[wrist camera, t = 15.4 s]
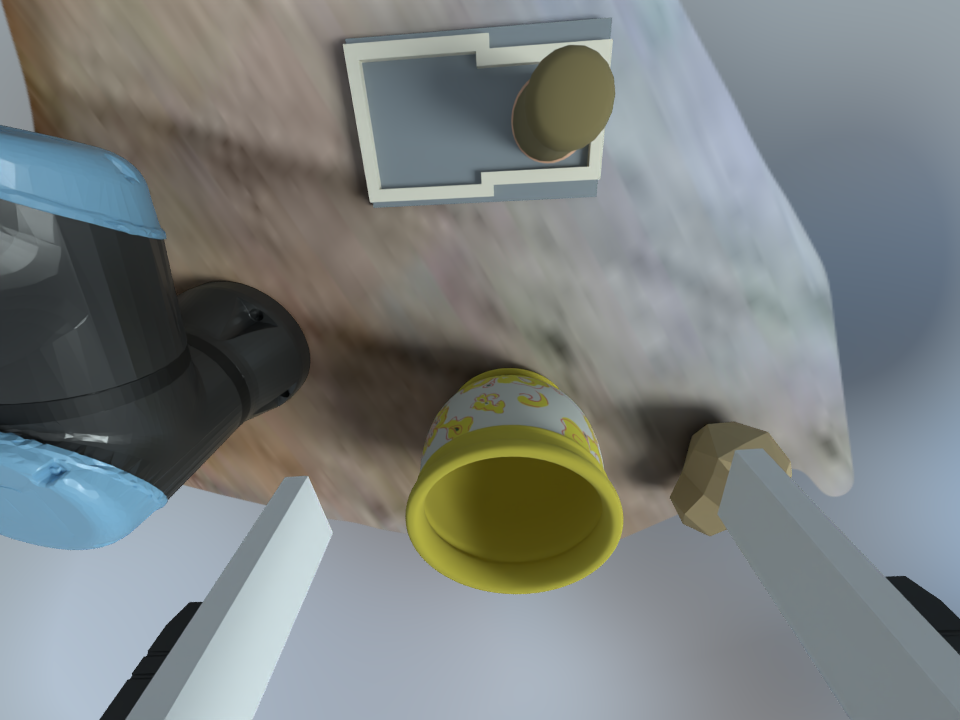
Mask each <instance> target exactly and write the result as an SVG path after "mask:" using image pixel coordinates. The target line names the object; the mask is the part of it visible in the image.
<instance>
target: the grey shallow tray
mask: <svg viewBox="0 0 960 720" xmlns="http://www.w3.org/2000/svg"><path fill="white" fill-rule="evenodd" d="M611 25H612V18H600V19H587V20H575V21H562V22H550V23H538V24H525V25H513V26H500V27H488V28H475V29H463V30H451V31H438V32H426V33H413V34H401V35H389V36H376V37H364V38H351V39H345V41H346V44H343V49H344V55H345V60H346V66H347V72H348V78H349V84H350V89H351V95H352V101H353V107H354V113H355V118H356V124H357V130H358V136H359V142H360V147H361V153H362V159H363V165H364V171H365V176H366V182H367V188H368V194H369V200H370V202H373V206H374V208H377V207H397V206H418V205H438V204H458V203H479V202H499V201H519V200H540V199H560V198H580V197H596V195H597V184H598V179H600V175H601V164H602V153H603V142H604V131H605V128H604V129H603V130H602V131H601V133H600V134H599V135H598V136H597V138H596V139H595V140H594V141H592V142H591V143H589V144H588V145H586V146H585V147H583V148H581V149H578V150H575V151H571V152H570V153H569V154H567V155H566V156H564V157H563V158H561V159H557V160H554V161H539V160H536V159H534V158H532V157H530V156H528V155H527V154H526V153H525V152H524V151H523V150H522V149H521V147H520V146H519V144H518V142H517V140H516V138H515V134H514V129H513V113H514V108H515V105H516V103H517V100H518V97H519V96H520V94H521V93H522V91H523V90H524V88H525V87H526V86H527V85H528V84H529V81H530V78H531V75H532V73H533V72H534V70H535V69H536V68H537V66H538V65H539V63H540V62H541V60H542V59H544V58H545V57H546V56H547V55H549V54H550V53H551V52H553V51H554V50H556V49H558V48H561V47H564V46H567V45H585V46H587V47H589V48H591V49H593V50H595V51H597V52H599V53H600V55H601V56H602V57H603V58H604V59H605V60H606V61H607V62H608V64H609V67H610V65H611V54H612V43H613V39H610V36H611Z"/></svg>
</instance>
